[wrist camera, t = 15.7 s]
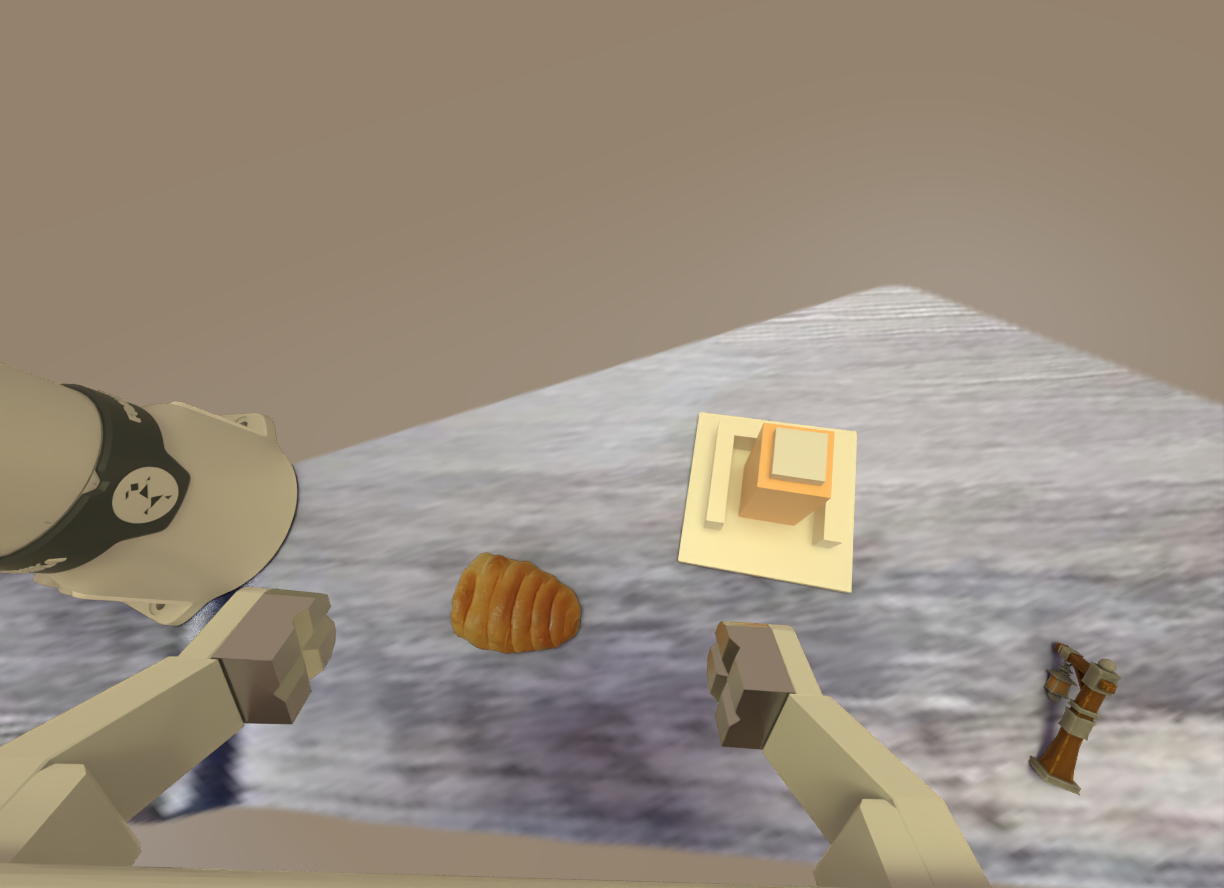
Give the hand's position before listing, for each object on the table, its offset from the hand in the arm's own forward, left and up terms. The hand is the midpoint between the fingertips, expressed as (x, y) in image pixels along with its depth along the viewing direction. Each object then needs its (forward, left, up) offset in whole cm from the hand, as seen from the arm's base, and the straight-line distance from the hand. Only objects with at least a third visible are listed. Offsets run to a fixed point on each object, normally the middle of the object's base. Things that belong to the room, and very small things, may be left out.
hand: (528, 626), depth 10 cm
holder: (+9, +11, -27) cm, 30 cm away
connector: (+9, +10, -26) cm, 29 cm away
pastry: (-9, -1, -27) cm, 29 cm away
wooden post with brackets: (+27, 0, -27) cm, 38 cm away
